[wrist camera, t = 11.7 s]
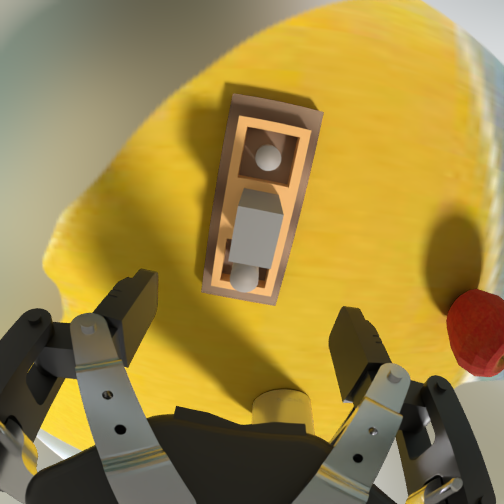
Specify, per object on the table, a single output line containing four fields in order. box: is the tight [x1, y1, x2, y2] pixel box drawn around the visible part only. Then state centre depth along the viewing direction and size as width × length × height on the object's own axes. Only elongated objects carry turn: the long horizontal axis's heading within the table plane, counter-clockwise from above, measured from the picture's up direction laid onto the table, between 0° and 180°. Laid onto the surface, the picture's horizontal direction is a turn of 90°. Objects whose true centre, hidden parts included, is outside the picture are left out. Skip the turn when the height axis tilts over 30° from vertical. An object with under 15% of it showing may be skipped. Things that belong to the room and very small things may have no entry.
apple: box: [446, 289, 504, 377], centre depth 25 cm, size 10×10×14 cm
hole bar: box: [211, 116, 311, 297], centre depth 22 cm, size 16×6×8 cm, turn 169°
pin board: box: [201, 93, 324, 306], centre depth 24 cm, size 20×8×6 cm, turn 169°
